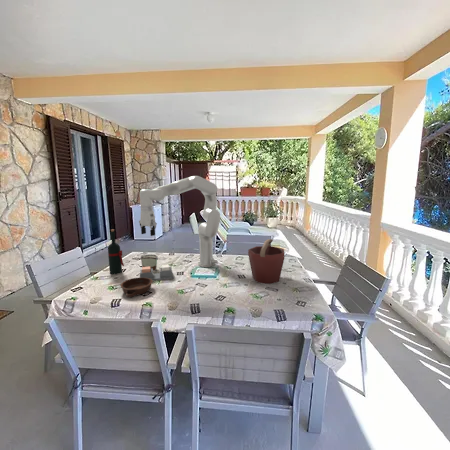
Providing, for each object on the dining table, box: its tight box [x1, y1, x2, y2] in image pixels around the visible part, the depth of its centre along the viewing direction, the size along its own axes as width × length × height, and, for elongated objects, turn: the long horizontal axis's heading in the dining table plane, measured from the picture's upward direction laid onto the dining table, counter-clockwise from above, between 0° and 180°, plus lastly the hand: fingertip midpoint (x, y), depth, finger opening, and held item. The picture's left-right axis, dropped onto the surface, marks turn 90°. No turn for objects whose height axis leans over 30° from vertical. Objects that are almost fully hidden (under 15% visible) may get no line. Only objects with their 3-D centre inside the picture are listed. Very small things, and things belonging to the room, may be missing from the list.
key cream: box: [160, 264, 171, 271], centre depth 168 cm, size 5×5×3 cm
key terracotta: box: [141, 266, 151, 273], centre depth 165 cm, size 5×5×3 cm
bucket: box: [247, 238, 285, 285], centre depth 162 cm, size 24×22×25 cm
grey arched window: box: [140, 253, 159, 272], centre depth 183 cm, size 12×6×10 cm, turn 84°
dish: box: [119, 277, 154, 298], centre depth 147 cm, size 18×22×5 cm
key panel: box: [138, 266, 174, 281], centre depth 167 cm, size 21×10×5 cm, turn 105°
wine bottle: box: [107, 229, 125, 275], centre depth 175 cm, size 8×10×30 cm
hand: (148, 234), depth 169 cm, fingers open, 9 cm apart
